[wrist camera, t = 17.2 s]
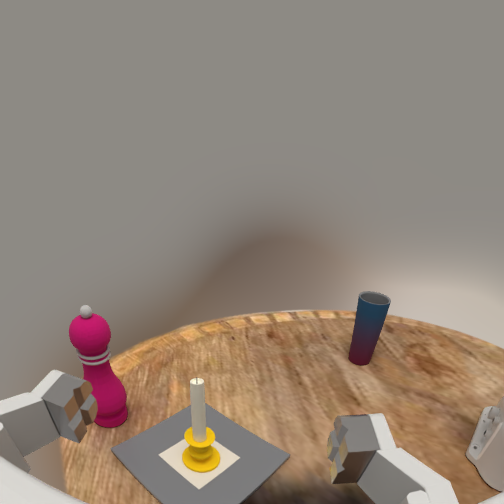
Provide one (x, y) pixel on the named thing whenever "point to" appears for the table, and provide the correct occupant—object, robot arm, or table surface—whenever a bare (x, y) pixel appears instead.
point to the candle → (199, 434)
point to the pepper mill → (99, 366)
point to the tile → (195, 483)
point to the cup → (368, 326)
